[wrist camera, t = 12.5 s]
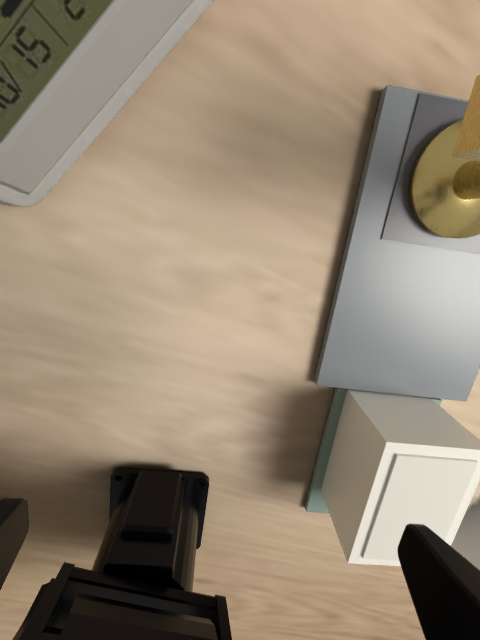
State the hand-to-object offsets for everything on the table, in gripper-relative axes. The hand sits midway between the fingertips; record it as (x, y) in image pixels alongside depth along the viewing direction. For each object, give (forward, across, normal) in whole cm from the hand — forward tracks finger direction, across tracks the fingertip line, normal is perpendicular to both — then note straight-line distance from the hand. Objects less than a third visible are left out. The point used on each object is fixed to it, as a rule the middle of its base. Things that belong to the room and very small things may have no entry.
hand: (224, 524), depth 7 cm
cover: (+12, -11, +6) cm, 17 cm away
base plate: (+12, -11, -6) cm, 17 cm away
